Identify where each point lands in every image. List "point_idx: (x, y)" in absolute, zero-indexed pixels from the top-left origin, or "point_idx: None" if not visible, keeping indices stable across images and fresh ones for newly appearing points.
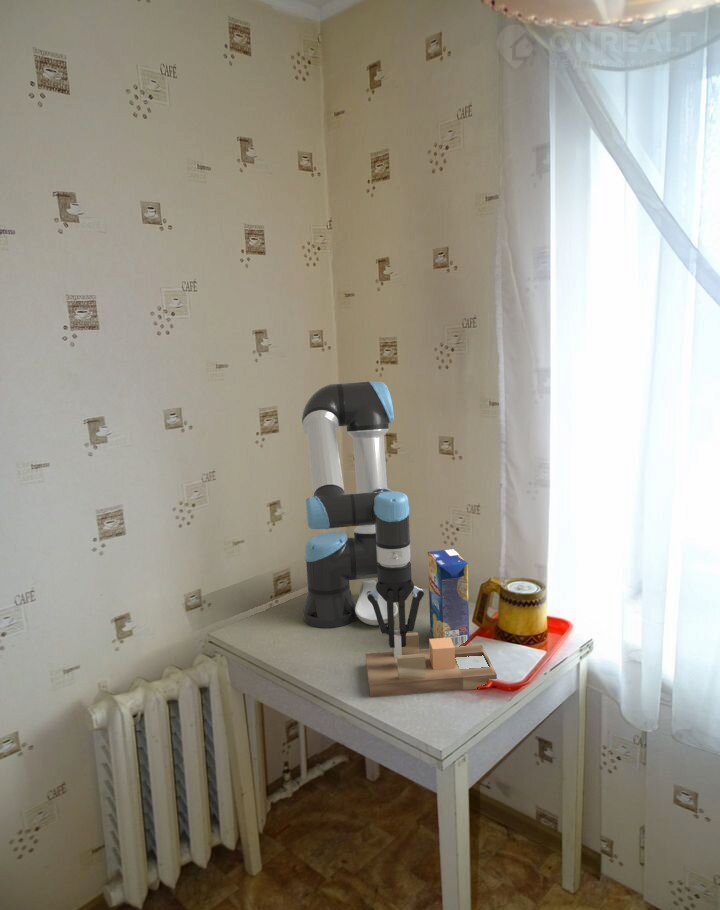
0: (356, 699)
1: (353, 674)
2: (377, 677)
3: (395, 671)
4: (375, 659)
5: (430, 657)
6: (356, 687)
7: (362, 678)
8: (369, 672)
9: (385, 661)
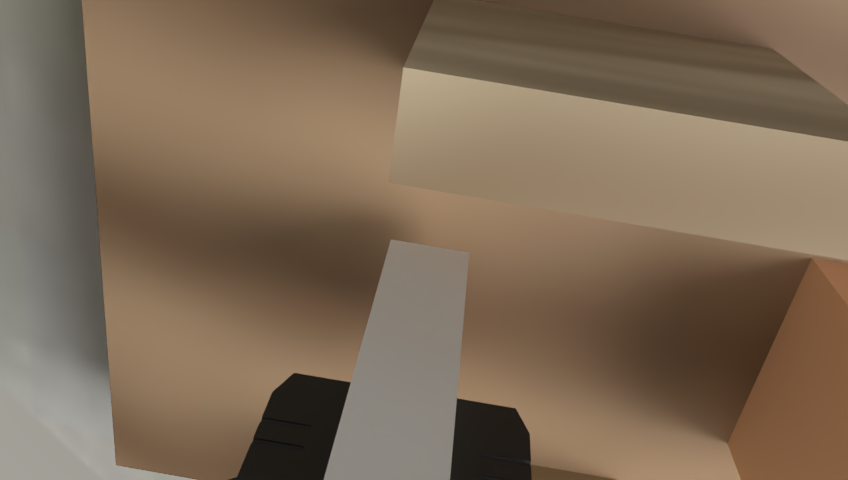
0: (62, 382)
1: (17, 21)
2: (188, 396)
3: None
4: (196, 69)
5: (806, 336)
6: (56, 241)
7: None
8: (118, 302)
9: (305, 153)
